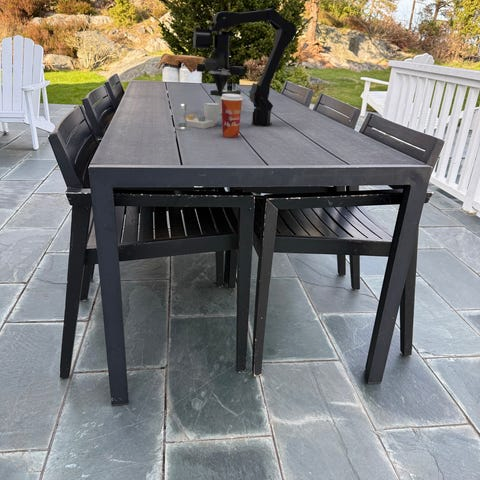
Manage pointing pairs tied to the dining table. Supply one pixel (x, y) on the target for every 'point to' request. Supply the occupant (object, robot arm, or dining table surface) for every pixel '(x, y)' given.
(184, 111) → the post
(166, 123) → the dining table surface
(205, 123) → the panel
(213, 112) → the grey cylinder
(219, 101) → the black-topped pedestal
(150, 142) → the dining table surface
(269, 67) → the robot arm
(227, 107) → the paper cup
